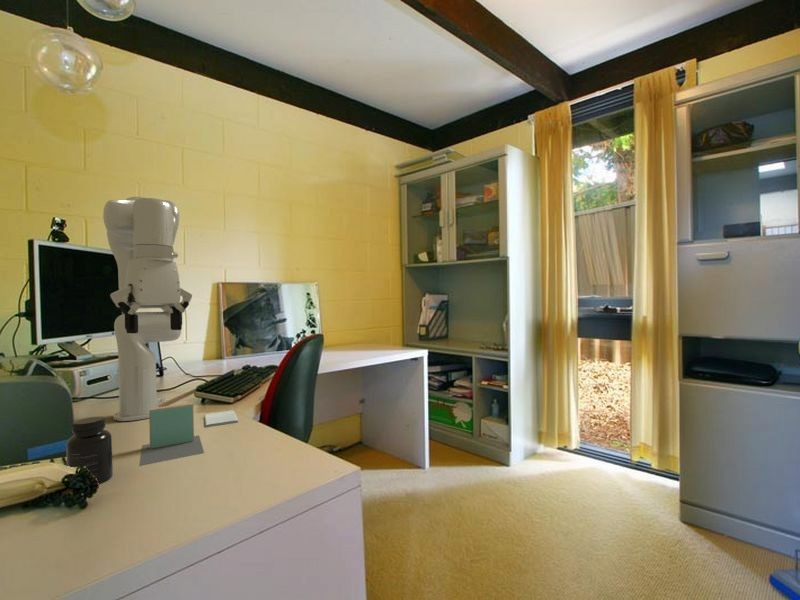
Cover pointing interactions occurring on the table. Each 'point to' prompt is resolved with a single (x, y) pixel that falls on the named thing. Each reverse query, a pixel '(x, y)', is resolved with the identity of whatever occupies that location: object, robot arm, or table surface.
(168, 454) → the mat
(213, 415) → the hard drive
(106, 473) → the supplement bottle
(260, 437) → the table surface
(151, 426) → the tile
